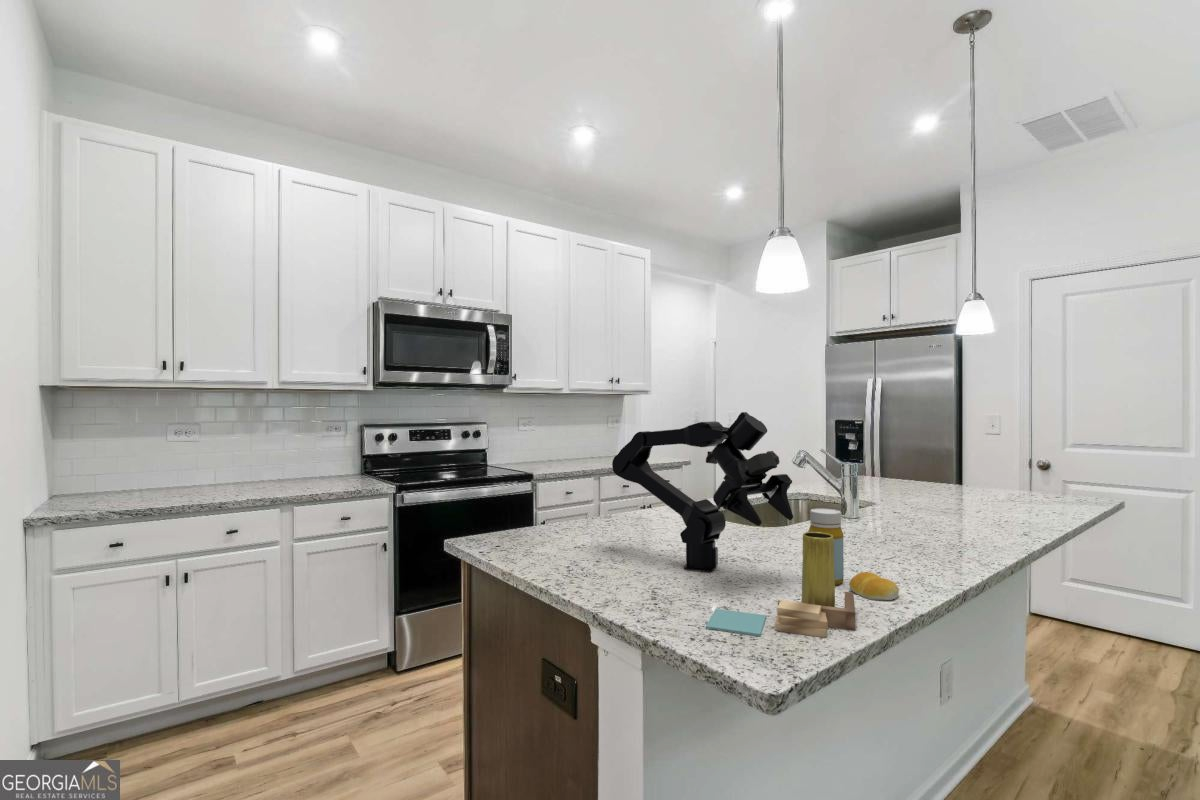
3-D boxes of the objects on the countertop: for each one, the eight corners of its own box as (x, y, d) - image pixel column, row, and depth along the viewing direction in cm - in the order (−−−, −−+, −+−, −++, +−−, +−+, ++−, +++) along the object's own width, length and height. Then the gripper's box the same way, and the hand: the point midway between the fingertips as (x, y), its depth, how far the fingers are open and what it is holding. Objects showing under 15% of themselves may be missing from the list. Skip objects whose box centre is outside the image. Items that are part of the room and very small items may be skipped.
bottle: (846, 587, 120) (846, 514, 120) (811, 585, 121) (810, 513, 122) (839, 577, 127) (839, 508, 127) (806, 575, 128) (805, 507, 128)
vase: (799, 617, 103) (799, 537, 103) (801, 605, 109) (801, 530, 109) (836, 621, 101) (836, 540, 101) (836, 610, 107) (836, 532, 107)
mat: (705, 628, 98) (705, 626, 98) (715, 610, 107) (715, 608, 107) (760, 636, 95) (760, 634, 95) (766, 617, 103) (766, 615, 103)
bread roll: (877, 604, 110) (877, 583, 110) (842, 590, 119) (842, 570, 119) (909, 599, 113) (909, 578, 113) (873, 585, 122) (873, 566, 122)
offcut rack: (775, 630, 97) (774, 609, 97) (783, 600, 112) (782, 581, 112) (856, 642, 92) (856, 619, 92) (853, 608, 108) (853, 589, 108)
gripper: (719, 441, 118) (763, 501, 109) (783, 437, 128) (828, 491, 118) (696, 478, 125) (735, 537, 115) (758, 471, 135) (799, 525, 125)
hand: (776, 521), depth 118 cm, fingers open, 9 cm apart
